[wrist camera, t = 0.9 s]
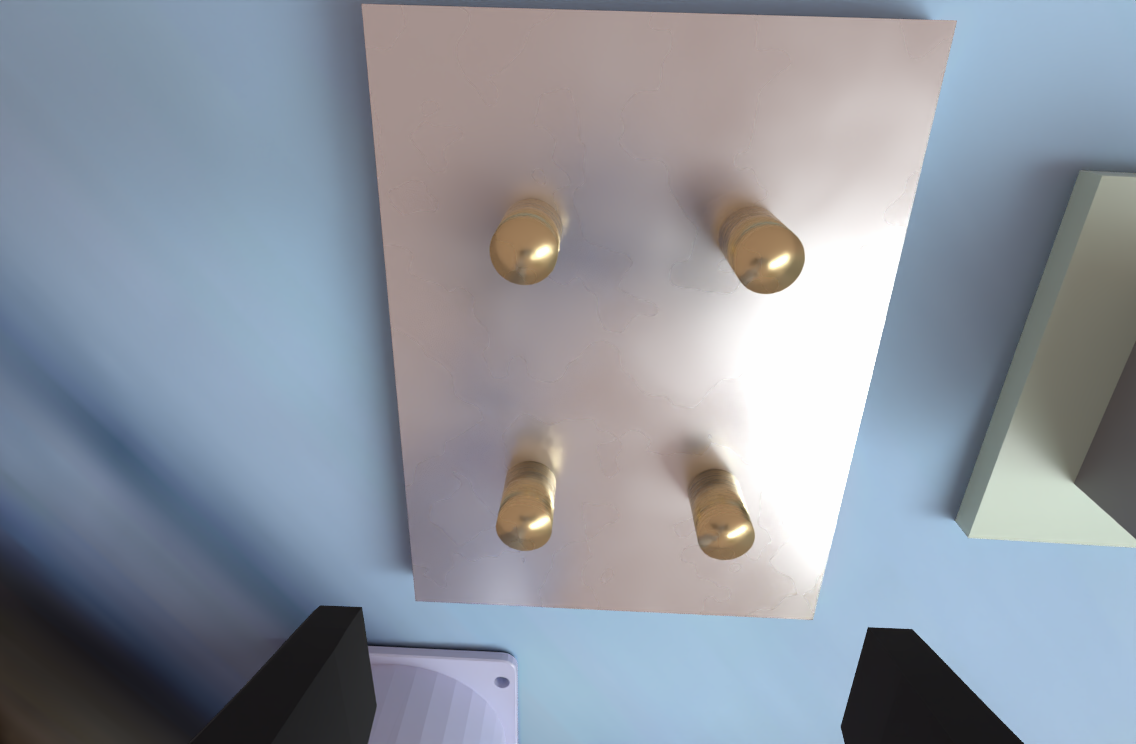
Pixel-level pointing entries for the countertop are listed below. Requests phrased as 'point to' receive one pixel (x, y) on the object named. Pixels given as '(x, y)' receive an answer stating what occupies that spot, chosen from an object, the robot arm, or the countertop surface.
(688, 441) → the plate
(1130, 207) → the grey block on base
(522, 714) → the countertop surface
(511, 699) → the robot arm
